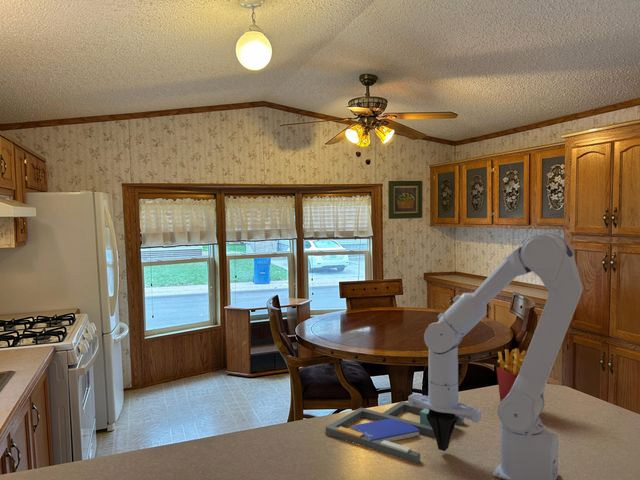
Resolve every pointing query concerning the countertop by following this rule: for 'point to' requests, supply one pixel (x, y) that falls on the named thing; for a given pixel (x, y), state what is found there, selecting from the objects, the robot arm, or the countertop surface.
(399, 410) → the bar
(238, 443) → the countertop surface
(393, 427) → the blue book
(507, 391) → the french fries
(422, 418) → the teal block
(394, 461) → the countertop surface
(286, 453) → the countertop surface
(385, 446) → the gray open frame
